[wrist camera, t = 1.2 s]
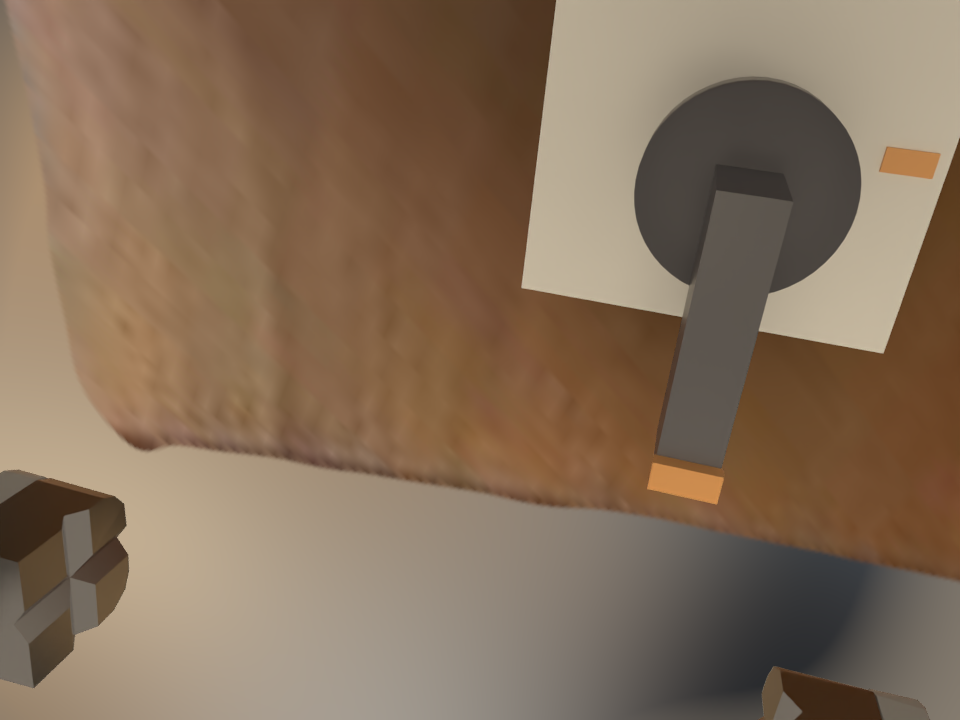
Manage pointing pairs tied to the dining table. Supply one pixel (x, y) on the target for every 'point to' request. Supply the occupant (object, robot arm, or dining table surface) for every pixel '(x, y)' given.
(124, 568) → the robot arm
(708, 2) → the base
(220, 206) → the dining table surface
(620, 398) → the dining table surface
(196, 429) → the dining table surface
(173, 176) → the dining table surface
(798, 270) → the twist knob
